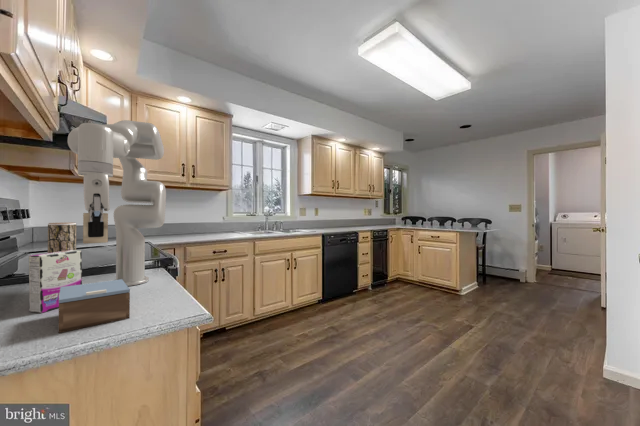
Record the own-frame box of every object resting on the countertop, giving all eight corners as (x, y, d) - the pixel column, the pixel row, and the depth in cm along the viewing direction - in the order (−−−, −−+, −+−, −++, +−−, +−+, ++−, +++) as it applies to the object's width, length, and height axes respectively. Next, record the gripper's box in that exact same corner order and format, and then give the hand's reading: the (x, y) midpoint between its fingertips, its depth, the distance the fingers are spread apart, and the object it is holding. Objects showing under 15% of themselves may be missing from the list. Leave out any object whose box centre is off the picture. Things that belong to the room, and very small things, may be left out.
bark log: (54, 303, 85) (55, 223, 84) (42, 300, 87) (42, 223, 87) (80, 297, 91) (81, 222, 91) (68, 294, 93) (68, 222, 93)
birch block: (83, 241, 75) (83, 212, 75) (106, 240, 78) (106, 213, 78) (83, 243, 71) (84, 213, 71) (107, 242, 75) (108, 213, 75)
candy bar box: (70, 299, 88) (70, 249, 88) (82, 301, 87) (83, 250, 87) (27, 312, 77) (27, 254, 77) (40, 313, 76) (41, 255, 76)
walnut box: (60, 314, 76) (60, 290, 76) (121, 303, 85) (122, 281, 85) (58, 333, 65) (58, 304, 65) (129, 318, 74) (129, 292, 74)
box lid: (60, 290, 76) (60, 285, 76) (122, 281, 85) (122, 277, 85) (58, 303, 65) (58, 297, 65) (129, 292, 74) (129, 287, 74)
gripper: (116, 168, 71) (115, 237, 71) (109, 174, 84) (109, 233, 84) (78, 164, 66) (77, 239, 66) (77, 171, 78) (76, 234, 78)
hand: (95, 235), depth 75 cm, fingers closed on birch block, 5 cm apart
